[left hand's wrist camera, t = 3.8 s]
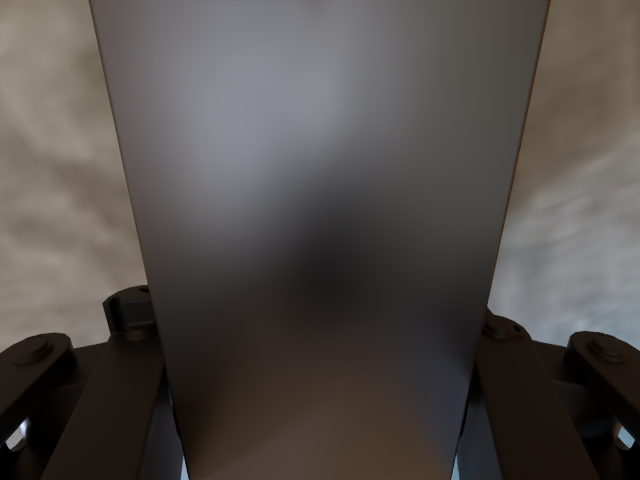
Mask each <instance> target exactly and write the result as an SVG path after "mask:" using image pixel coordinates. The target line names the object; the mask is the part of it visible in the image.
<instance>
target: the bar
mask: <svg viewBox="0 0 640 480" xmlns="http://www.w3.org/2000/svg"><path fill="white" fill-rule="evenodd" d="M550 2H551V0H89V4H90V9H91V14H92V18H93V23H94V28H95V33H96V37H97V42H98V47H99V52H100V57H101V61H102V66H103V71H104V76H105V81H106V85H107V90H108V95H109V100H110V105H111V109H112V114H113V119H114V124H115V128H116V133H117V138H118V143H119V148H120V152H121V157H122V162H123V167H124V172H125V176H126V181H127V186H128V191H129V196H130V200H131V205H132V210H133V215H134V220H135V224H136V229H137V234H138V239H139V243H140V248H141V253H142V258H143V263H144V267H145V272H146V277H147V282H148V287H149V291H150V296H151V301H152V306H153V311H154V315H155V320H156V325H157V330H158V334H159V339H160V344H161V349H162V354H163V358H164V363H165V368H166V373H167V378H168V382H169V387H170V392H171V397H172V402H173V406H174V411H175V416H176V421H177V425H178V430H179V435H180V440H181V445H182V449H183V454H184V459H185V464H186V469H187V473H188V478H189V480H451V477H452V472H453V467H454V462H455V458H456V453H457V448H458V443H459V438H460V434H461V429H462V424H463V419H464V414H465V410H466V405H467V400H468V395H469V390H470V386H471V381H472V376H473V371H474V366H475V362H476V357H477V352H478V347H479V343H480V338H481V333H482V328H483V323H484V319H485V314H486V309H487V304H488V299H489V295H490V290H491V285H492V280H493V275H494V271H495V266H496V261H497V256H498V251H499V247H500V242H501V237H502V232H503V227H504V223H505V218H506V213H507V208H508V203H509V199H510V194H511V189H512V184H513V179H514V175H515V170H516V165H517V160H518V155H519V151H520V146H521V141H522V136H523V131H524V127H525V122H526V117H527V112H528V107H529V103H530V98H531V93H532V88H533V83H534V79H535V74H536V69H537V64H538V59H539V55H540V50H541V45H542V40H543V35H544V31H545V26H546V21H547V16H548V11H549V7H550Z"/></svg>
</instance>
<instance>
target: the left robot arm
mask: <svg viewBox="0 0 640 480" xmlns="http://www.w3.org/2000/svg"><path fill="white" fill-rule="evenodd" d="M102 304H103V308H104V311H105V315H106V319H107V322H108V326H109V330H110V333H111V335H110V338H109V340H108V342H104V343H100V344H95V345H90V346H85V347H80V348H75V349H73V346H72V343H71V339H70V337H68V336H67V335H66V334H62V333H46V334H39V335H36V336H31V337H28V338H26V339H24V340H22V341H20V342H18V343H16V344H13V345H12V346H10V347H9V348H7V349H6V350H4V351H3V352H1V353H0V480H181V472H182V463H183V455H184V454H183V449H182V445H181V440H180V435H179V430H178V425H177V421H176V416H175V411H174V406H173V402H172V397H171V392H170V387H169V382H168V378H167V373H166V368H165V363H164V358H163V354H162V349H161V344H160V339H159V334H158V330H157V325H156V320H155V315H154V311H153V306H152V301H151V296H150V291H149V287H148V285H140V286H135V287H130V288H127V289H124V290H121V291H119V292H117V293H115V294H113V295H111V296H110V297H108V298H107V299H106V300H105V301H104V302H103V303H102ZM622 426H623V427H624V428H625V429H626V430H627V432H628V433H629V434H630V435H631V436H632V437H633V438H634V439H635V441H634V443H633V445H632V447H631V448H629V447H627V446H626V445H625V444H624V443H623V442H622V441H621V440H620V438H619V437H618V434H619V431H620V429H621V427H622ZM17 428H19V430H20V432H21V435H22V437H23V438H22V439H21V440H20V441H19V443H18V444H17V445H16V446H14V447H13V448H12V449H11V450H10V449H9V448H8V446H7V444H6V440H7V439H8V438H9V437H10V436H11V435H12V434H13V433H14V432H15V431H16V430H17ZM456 454H457V462H458V471H459V479H460V480H640V351H639V350H637V349H636V348H634V347H633V346H631V345H630V344H628V343H626V342H624V341H622V340H620V339H617V338H616V337H614V336H611V335H608V334H604V333H600V332H591V331H581V332H575V333H574V334H572V335H571V336H570V338H569V342H568V345H567V347H563V346H558V345H553V344H548V343H542V342H538V341H534V340H532V339H531V337H530V335H529V333H528V332H527V331H526V330H525V329H524V327H522V326H521V325H519V324H518V323H516V322H515V321H512V320H510V319H508V318H505V317H502V316H498V315H493V313H492V312H491V311H490V310H489V308H488V307H487V309H486V314H485V319H484V323H483V328H482V333H481V338H480V343H479V347H478V352H477V357H476V362H475V366H474V371H473V376H472V381H471V386H470V390H469V395H468V400H467V405H466V410H465V414H464V419H463V424H462V429H461V434H460V438H459V443H458V448H457V453H456Z"/></svg>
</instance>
